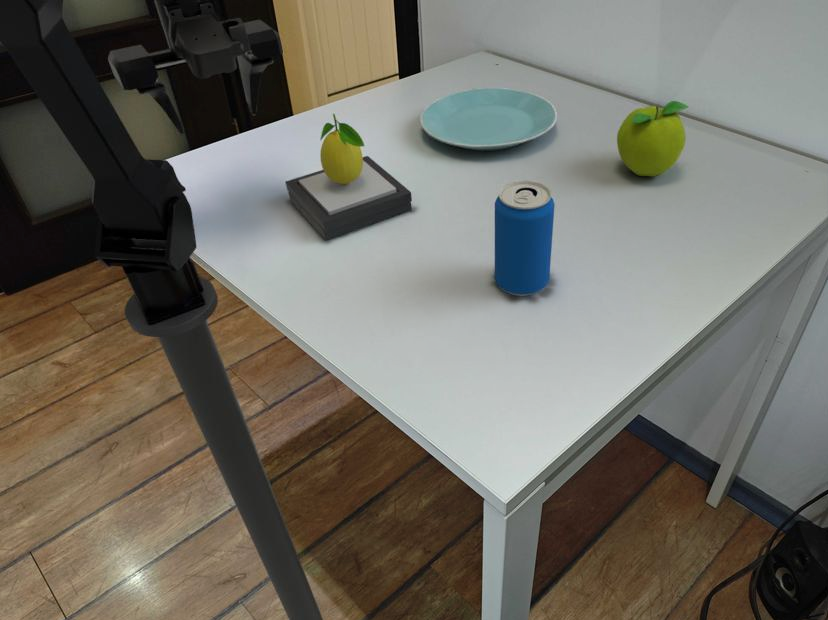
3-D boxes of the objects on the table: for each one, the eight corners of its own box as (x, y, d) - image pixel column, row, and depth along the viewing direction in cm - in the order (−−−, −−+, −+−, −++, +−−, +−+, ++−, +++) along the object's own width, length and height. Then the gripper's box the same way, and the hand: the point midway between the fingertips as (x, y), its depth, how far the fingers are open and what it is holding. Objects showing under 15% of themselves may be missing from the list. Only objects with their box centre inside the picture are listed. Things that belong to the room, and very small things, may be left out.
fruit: (691, 179, 96) (706, 112, 89) (634, 192, 94) (645, 124, 87) (656, 152, 102) (668, 87, 96) (602, 163, 100) (610, 97, 93)
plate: (397, 149, 105) (395, 132, 103) (453, 95, 120) (452, 79, 118) (530, 172, 99) (531, 155, 97) (572, 112, 113) (573, 95, 112)
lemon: (371, 193, 89) (361, 121, 82) (327, 199, 88) (313, 127, 81) (366, 170, 94) (356, 100, 87) (324, 175, 93) (310, 105, 86)
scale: (327, 242, 87) (323, 222, 85) (289, 200, 95) (284, 181, 93) (413, 211, 92) (411, 191, 90) (370, 173, 100) (367, 155, 98)
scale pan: (330, 221, 87) (328, 211, 86) (300, 190, 93) (298, 180, 92) (397, 198, 91) (396, 188, 90) (364, 169, 97) (363, 159, 96)
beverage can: (554, 272, 81) (561, 183, 73) (541, 304, 76) (547, 213, 68) (503, 263, 83) (504, 175, 74) (487, 294, 78) (486, 204, 70)
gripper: (104, 23, 65) (159, 170, 75) (285, -12, 72) (312, 126, 82) (83, -4, 71) (136, 134, 82) (250, -34, 79) (279, 97, 89)
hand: (218, 123), depth 84 cm, fingers open, 9 cm apart
